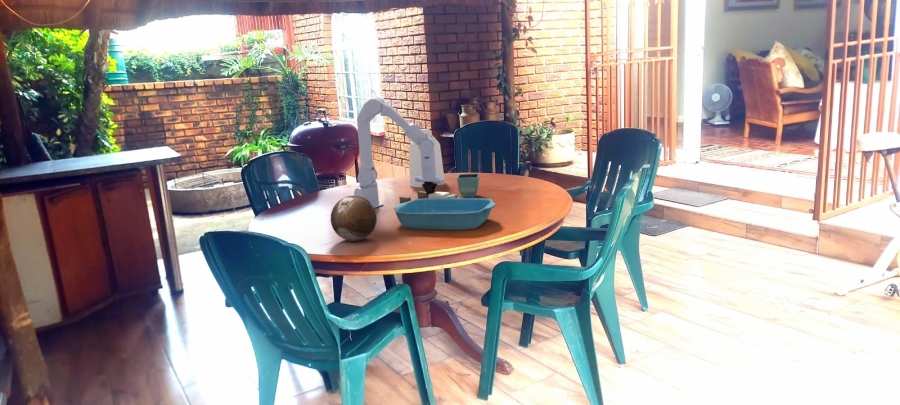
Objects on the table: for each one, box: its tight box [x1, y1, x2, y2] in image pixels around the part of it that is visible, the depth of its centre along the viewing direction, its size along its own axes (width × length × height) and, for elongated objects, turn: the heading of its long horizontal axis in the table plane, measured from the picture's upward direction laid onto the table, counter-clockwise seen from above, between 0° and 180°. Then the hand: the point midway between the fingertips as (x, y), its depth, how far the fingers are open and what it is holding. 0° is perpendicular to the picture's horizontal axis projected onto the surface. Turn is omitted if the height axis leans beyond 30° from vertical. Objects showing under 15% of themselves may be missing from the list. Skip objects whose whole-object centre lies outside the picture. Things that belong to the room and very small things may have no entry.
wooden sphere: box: [330, 195, 378, 242], centre depth 209 cm, size 15×15×15 cm
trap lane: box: [398, 190, 461, 204], centre depth 258 cm, size 24×21×4 cm
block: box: [428, 191, 450, 198], centre depth 254 cm, size 6×6×4 cm
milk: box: [408, 128, 446, 188], centre depth 295 cm, size 12×12×26 cm
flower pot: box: [456, 173, 480, 198], centre depth 264 cm, size 9×9×9 cm
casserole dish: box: [393, 197, 497, 231], centre depth 224 cm, size 37×22×7 cm, turn 71°
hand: (431, 200), depth 257 cm, fingers closed
